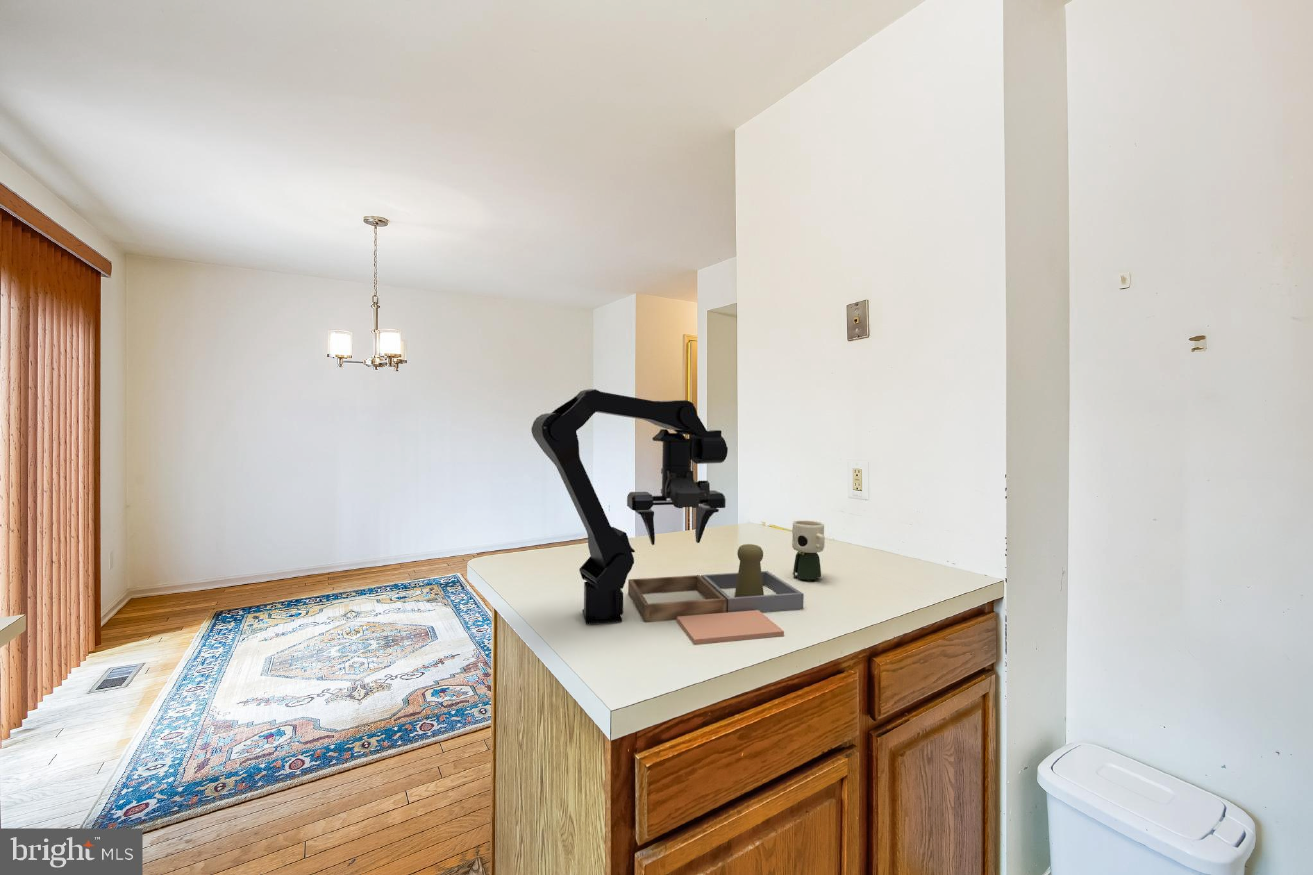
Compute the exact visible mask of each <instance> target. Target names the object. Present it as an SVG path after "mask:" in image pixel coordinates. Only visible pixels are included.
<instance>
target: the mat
mask: <svg viewBox="0 0 1313 875" xmlns="http://www.w3.org/2000/svg"><path fill="white" fill-rule="evenodd" d="M676 622H677V624H678V625H679V626H680V627H681V629H682V630H683V632H684V633H685V634H686V635H687V637H688V638H689V640H690V641H691V642H692V643H693V645H702V644H703V645H704V644H713V643H724V642H733V641H744V640H745V641H746V640H755V639H766V638H776V637H784V636H785V631H784V630H783V629H782V628H781V627H780V626H779V625H777V624H776V623H775V622H774V621H772V620H771V619H770V618H769V617H767V615H765V614H764V612H760V611H759V610H753V611H740V612H728V613H716V614H703V615H691V616H679V617H677V619H676Z"/></svg>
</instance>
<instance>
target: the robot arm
mask: <svg viewBox="0 0 1313 875" xmlns="http://www.w3.org/2000/svg"><path fill="white" fill-rule="evenodd" d="M595 413H600V414H604V415H612V416H618V417H623V418H624V417H626V418H630V419H631V418H632V419H637V420H644V421H647V422H649V423H650V424H653V425H655V426H658V427H659V428H661V429H660V430H659V432H657V434H655V435H654V436H653V437H652V438H651V439H652V441H653V442H660V443H661V442H662V454H661V455H662V457H661V460H662V461H661V462H662V463H661V465H662V466H661V471H660V473H661V488H660V494H661V495H652V494H651V493H650V492H648V491H630V492H629V493H628V494H627V497H626V506H627V507H628V508H629V509H630V510H631V511H634V512H635V513H636V514H638V515H639V516H640V517H641V519H642V521H643V524H644V526H645V529H646V533H647V535H648V538H649V542H650V544H651V545H652V546H655V543H656V542H655V541H656V538H655V537H656V536H655V524H654V522H655V521H654V519H655V518H654V517H655V511H653V509H652V508H653V507H654V506H673V507H675V508H677V509H683V508H693V509H695V530H694V531H695V536H694V537H695V543H697V544H700V542H701V539H702V538H703V534H704V532H705V530H706V527H707V524H708V522H709V520H710V518H711V517H712V516H713V515H714V514H715V513H718V512H720V509H725V508H726V501H727V500H726V496H725V495H724V494H723V493H722V492H719V491H717V490H712V489H711V488H710V482H709V480H698V481H695V480H694V471H693V470H692V462H693V463H694V464H696V465H699V464H700V465H702V464H703V465H704V464H705V465H706V464H722V463H724V462H725V461H726V458H727V457H728V450H729V447H728V446H727V441H726V440H725V438H724V437H723V436H722V430H720V429H712V430H711V429H710V430H707V429H706V427H705V425H704V423H703V422H702V421H701V418H700V417H699V416H698V412H697V408H696V407H695V404H694V403H693V402H692V401H690V400H687V399H684V400H680V399H679V400H677V399H676V400H650V399H644V398H638V397H632V396H628V395H622V394H617V393H616V394H615V393H611V392H605V391H600V390H598V389H596V388H592V389H591V388H589V389H583V390H580V391H578V393H577V394H576V395H575V396H574V397H572V398H571V399H570V400H568V401H566V402H564V403H563V404H561V405H560V406H559V407H556V408H555V409H554V410H553V411H552V412H550V413H549V412H548V413H542V414H540V415H539V416H537V417H536V418H535V419H534V421H533V423H532V425H531V429H530V430H531V436H532V437H533V439H534V441H535V442H536V443H537V445H538V446H539V448H540V449H541V450H542V452H543V453H544V454H545V455H546V456H547V458H549V460H550V461H551V462H552V464H554V465H555V467H556V469H557V472H558V473H559V475H560V478H561V479H562V481H563V484H564V487H565V488H566V490H567V492H568V495H569V497H570V499H571V501H572V503H573V505H574V507H575V509H576V512H577V515H578V516H579V518H580V520H581V522H582V524H583V527H584V528H585V531H586V534H587V545H588V546H587V547H588V551H589V555H590V556H589V557H588V559H586V561H585V562H584V563H583V564H582V565H581V566H580V568H579V574H580V577H581V579H582V580H584V582H583V609H582V615H583V616H582V617H583V619H584V620H583V621H584V622H585V624H586V625H599V624H610V623H620V622H621V623H622V621H623V618H622V615H623V614H624V592H623V590H622V589H624V586H625V584H626V581H627V578H628V575H629V574H630V572H631V570H632V569H633V566H634V564H635V558H634V555H633V553H636V550H635V549H634V548H633V547H632V546H631V544H630V540H629V537H628V534H627V533H626V531H623V530H620V529H619V528H617V527H614V526H612V525H611V524H610V521H609V519H608V516H607V515H606V513H605V511H604V508H603V506H602V504H601V502H600V499H599V497H598V495H597V493H596V490H595V487H593V484H592V482H591V480H590V477H589V475H588V473H587V470H586V469H585V465H584V464H583V463H582V460H581V457H580V441H579V437H578V433H577V431H578V430H580V429H581V428H582V427H583V426H584V425H585V424H586V423H587V422H588V421H589V420H590V418H591V417H592V416H593V415H594V414H595ZM669 430H672V431H674V432H669ZM685 435H687V436H688V438H686V436H685ZM710 489H711V490H710Z"/></svg>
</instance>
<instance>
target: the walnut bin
mask: <svg viewBox="0 0 1313 875" xmlns="http://www.w3.org/2000/svg"><path fill="white" fill-rule="evenodd" d="M627 581H628V582H627V583H628V584H627V585H628V587H627V588H628V589H627V590H628V591H627V594H628V597H630V599H631V601H632V603H633V604H635V605H634V606H635V608H636V610H637V611H638V613H639V615H640V617H641V619H642V621H643V622H644V623H650V622H651V623H652V622H662V621H663V622H664V621H672V620H673V621H674V620H675V621H677V617H679V616H691V615H703V614H716V613H726V599H725V598H724V597H723V596H722V595H721V594H720V593H719V592H718V591H717V590H715V589H714V588H713V587H712V586H711V585H710V584H709V583H708V582H707V581H705V580H704V579H703V578H702V577H701V574H696V575H695V574H692V575H691V574H690V575H679V576H678V575H677V576H663V577H661V576H660V577H659V576H658V577H647V578H646V577H643V578H628V580H627ZM691 590H692V591H697V592H698V593H699V594H700V596H702V597H703V598H704V599H697V600H696V599H695V600H682V601H667V602H655V603H654V602H653V603H649V602H648V601H647V600H646V598H645V596H644V595H645V594H646V595H647V594H659V593H661V594H662V593H673V592H678V593H679V592H689V591H691ZM692 591H691V592H692Z"/></svg>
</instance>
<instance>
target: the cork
mask: <svg viewBox="0 0 1313 875" xmlns="http://www.w3.org/2000/svg"><path fill="white" fill-rule="evenodd" d="M737 558H738V559H739V566H738V572H737V573H738V578H737V584H736V588H735V591H734V597H746V596H760V595H765V592H764V586H763V583H762V573H761V571H762V566H761V565H762V563H761V562H762V561H763V559H764V550H763V549H762V547H761V546H759V545H757V544H752V543H747V544H746V543H745V544H742V545H740V546H739V547H738V549H737Z"/></svg>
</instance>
